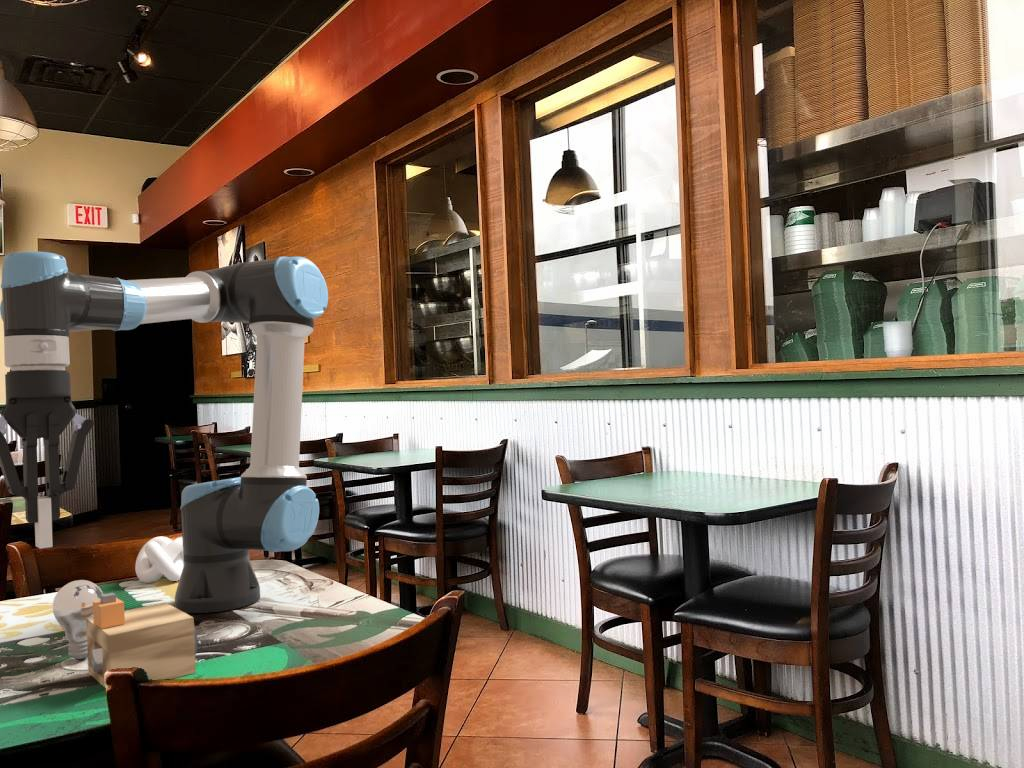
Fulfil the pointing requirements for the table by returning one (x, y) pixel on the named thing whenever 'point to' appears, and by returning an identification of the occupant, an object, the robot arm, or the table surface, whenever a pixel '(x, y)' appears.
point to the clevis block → (146, 642)
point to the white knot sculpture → (160, 560)
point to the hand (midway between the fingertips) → (44, 546)
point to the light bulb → (76, 614)
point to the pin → (98, 656)
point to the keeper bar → (108, 611)
